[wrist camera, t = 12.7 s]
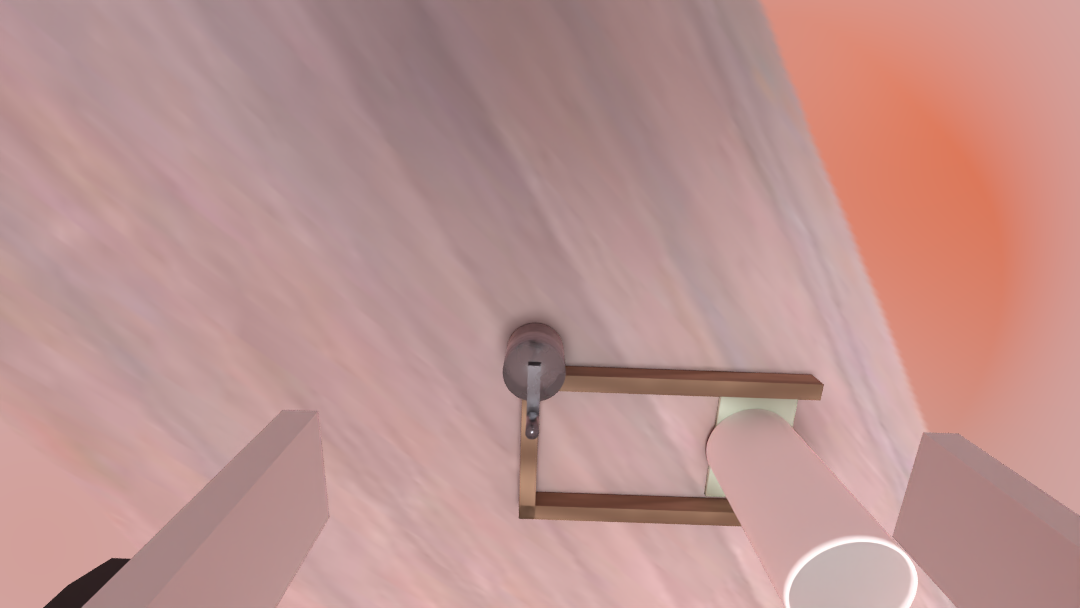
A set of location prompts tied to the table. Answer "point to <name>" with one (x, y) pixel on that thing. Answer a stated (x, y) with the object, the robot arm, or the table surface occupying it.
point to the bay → (729, 386)
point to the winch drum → (534, 368)
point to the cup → (805, 519)
